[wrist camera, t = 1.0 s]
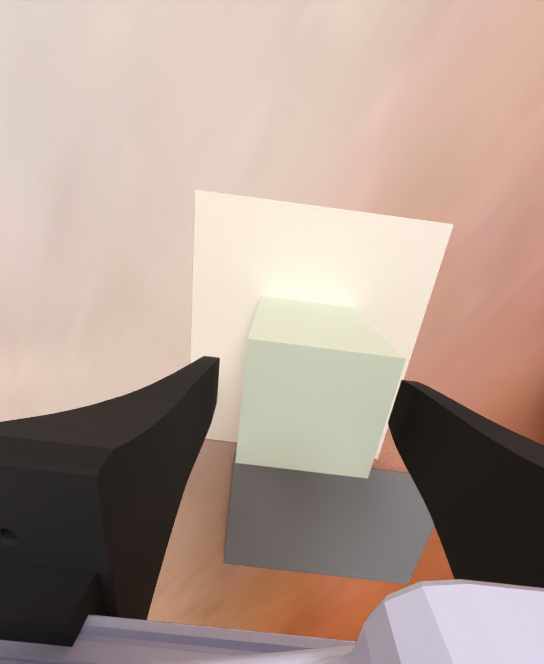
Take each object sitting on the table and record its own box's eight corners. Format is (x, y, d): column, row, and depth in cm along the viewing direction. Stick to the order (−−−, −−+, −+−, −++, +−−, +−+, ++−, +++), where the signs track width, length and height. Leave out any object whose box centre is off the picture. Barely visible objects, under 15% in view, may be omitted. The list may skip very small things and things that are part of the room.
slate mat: (447, 477, 18) (453, 485, 18) (404, 575, 22) (407, 584, 21) (235, 452, 18) (234, 459, 18) (225, 554, 22) (223, 563, 21)
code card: (451, 224, 13) (454, 224, 13) (376, 457, 18) (377, 459, 18) (196, 190, 13) (194, 189, 13) (189, 434, 18) (188, 437, 18)
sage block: (357, 308, 14) (406, 358, 9) (337, 391, 16) (367, 478, 11) (260, 296, 14) (247, 338, 9) (251, 381, 16) (235, 462, 10)
